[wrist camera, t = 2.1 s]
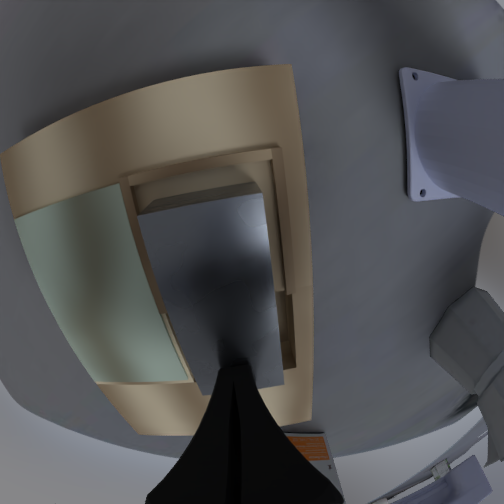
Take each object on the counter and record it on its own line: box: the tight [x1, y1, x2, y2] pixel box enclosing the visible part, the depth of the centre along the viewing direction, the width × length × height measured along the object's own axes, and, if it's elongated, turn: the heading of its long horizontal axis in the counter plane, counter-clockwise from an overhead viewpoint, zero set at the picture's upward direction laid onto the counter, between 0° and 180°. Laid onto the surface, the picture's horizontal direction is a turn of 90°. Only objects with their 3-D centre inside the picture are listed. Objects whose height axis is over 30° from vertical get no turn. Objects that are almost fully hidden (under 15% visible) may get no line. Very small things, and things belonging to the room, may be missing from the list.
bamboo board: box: [0, 64, 314, 436], centre depth 14 cm, size 14×22×3 cm, turn 8°
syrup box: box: [431, 459, 451, 481], centre depth 51 cm, size 6×6×14 cm
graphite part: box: [137, 181, 285, 396], centre depth 11 cm, size 4×9×2 cm, turn 8°
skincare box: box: [284, 433, 346, 504], centre depth 19 cm, size 6×4×12 cm
